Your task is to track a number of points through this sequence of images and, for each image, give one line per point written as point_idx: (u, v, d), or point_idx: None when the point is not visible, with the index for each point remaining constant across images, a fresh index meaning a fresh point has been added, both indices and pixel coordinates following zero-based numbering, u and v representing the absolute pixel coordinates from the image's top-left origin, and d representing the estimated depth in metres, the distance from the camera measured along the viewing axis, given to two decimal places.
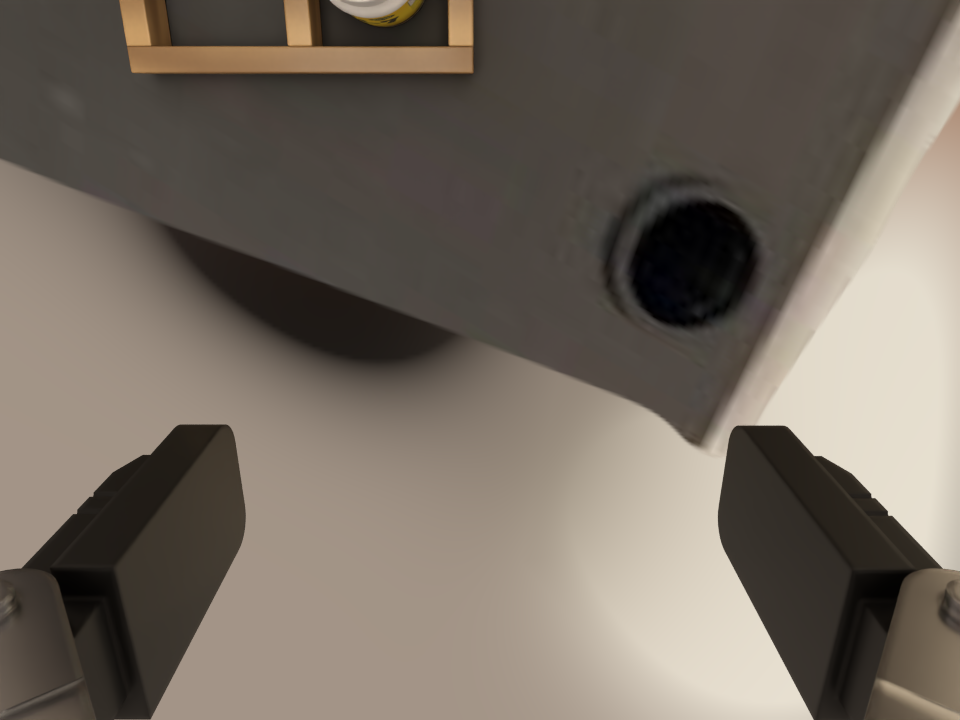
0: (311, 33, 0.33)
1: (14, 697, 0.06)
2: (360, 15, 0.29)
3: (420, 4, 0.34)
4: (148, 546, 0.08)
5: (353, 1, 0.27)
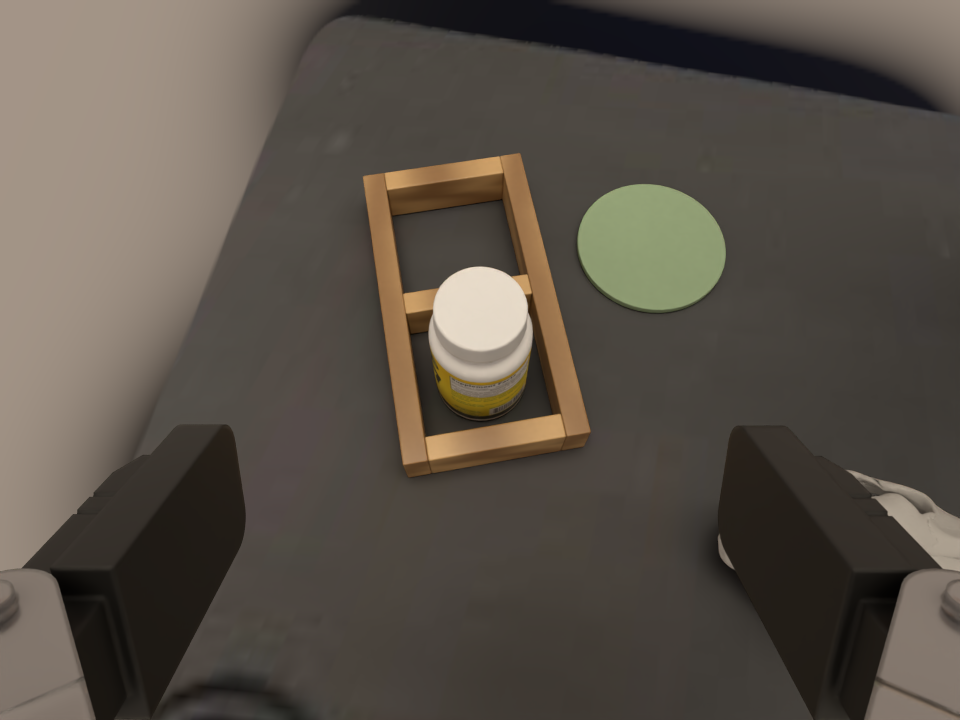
0: (416, 312, 0.35)
1: (14, 697, 0.06)
2: (429, 332, 0.30)
3: (460, 410, 0.34)
4: (148, 546, 0.08)
5: (433, 310, 0.28)
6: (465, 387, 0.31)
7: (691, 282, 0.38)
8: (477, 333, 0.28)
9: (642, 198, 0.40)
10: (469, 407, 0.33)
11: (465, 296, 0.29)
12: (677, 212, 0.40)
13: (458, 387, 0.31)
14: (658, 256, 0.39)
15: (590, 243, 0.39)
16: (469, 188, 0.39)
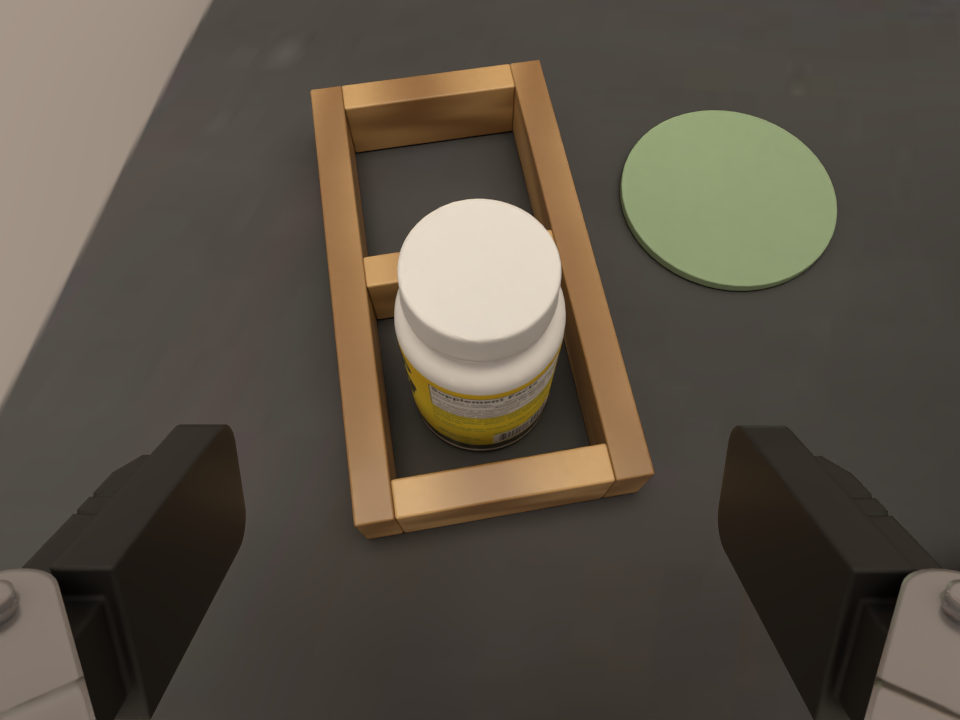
0: (383, 286, 0.23)
1: (14, 697, 0.06)
2: (395, 311, 0.18)
3: (448, 435, 0.22)
4: (148, 546, 0.08)
5: (398, 270, 0.16)
6: (455, 402, 0.19)
7: (789, 246, 0.26)
8: (473, 310, 0.16)
9: (712, 129, 0.28)
10: (461, 432, 0.21)
11: (453, 248, 0.17)
12: (763, 149, 0.28)
13: (443, 402, 0.19)
14: (739, 210, 0.27)
15: (639, 191, 0.27)
16: (465, 110, 0.27)
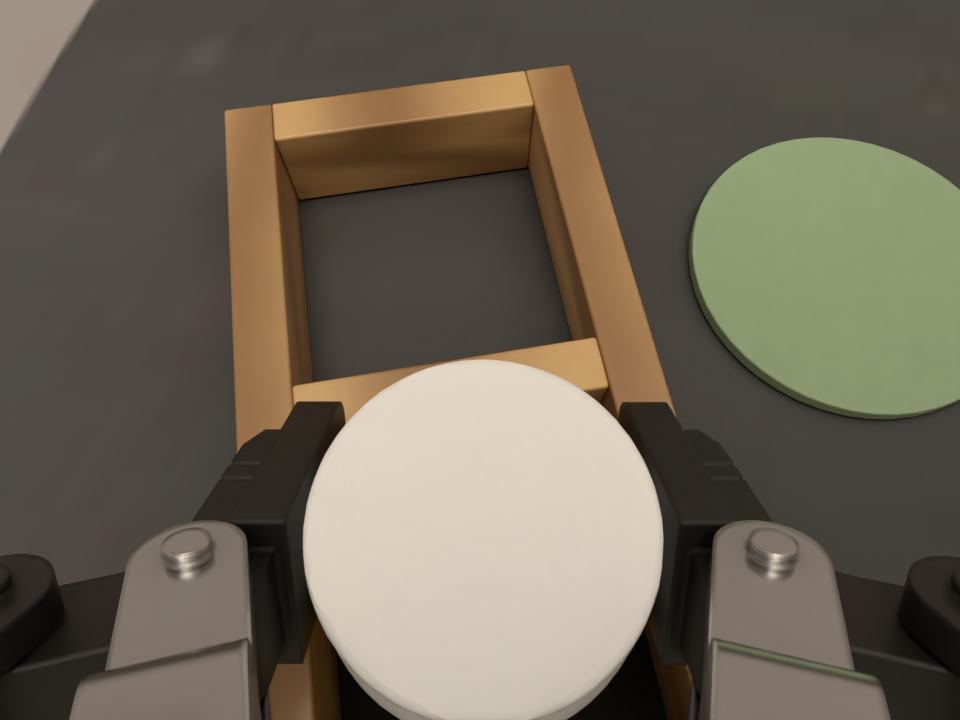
0: None
1: (194, 640, 0.06)
2: None
3: None
4: (302, 506, 0.09)
5: (305, 532, 0.07)
6: None
7: (953, 349, 0.17)
8: (470, 642, 0.07)
9: (821, 166, 0.19)
10: None
11: (426, 479, 0.08)
12: (899, 196, 0.19)
13: None
14: (871, 291, 0.18)
15: (720, 261, 0.18)
16: (459, 141, 0.18)
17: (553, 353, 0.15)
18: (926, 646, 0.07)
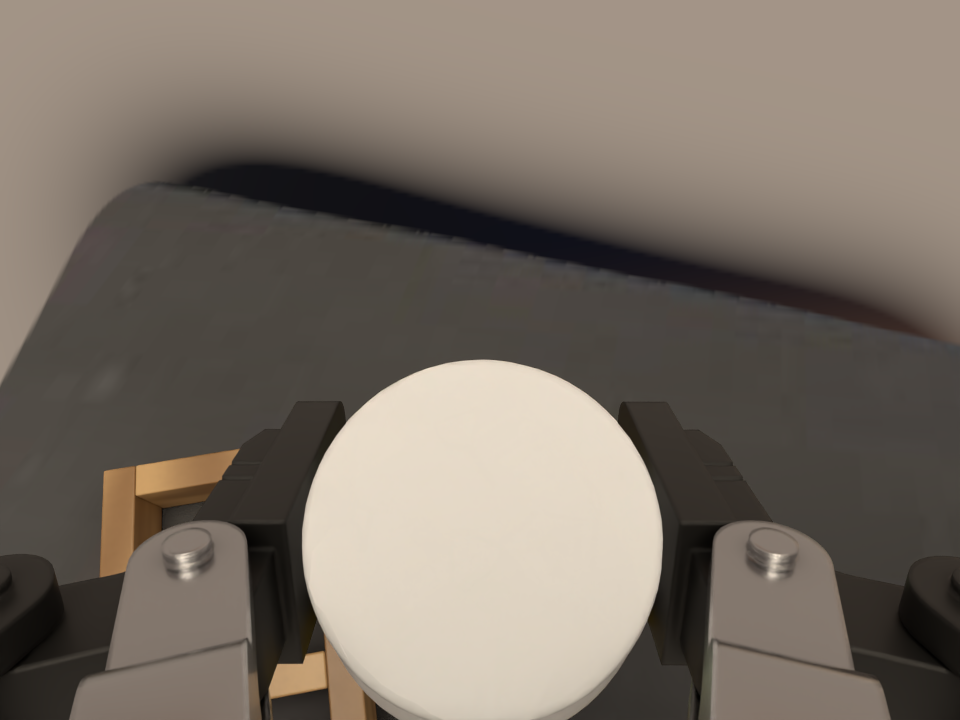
0: None
1: (194, 640, 0.06)
2: None
3: None
4: (302, 506, 0.09)
5: (304, 533, 0.07)
6: None
7: None
8: (470, 643, 0.07)
9: None
10: None
11: (425, 479, 0.08)
12: None
13: None
14: None
15: None
16: None
17: None
18: (926, 646, 0.07)
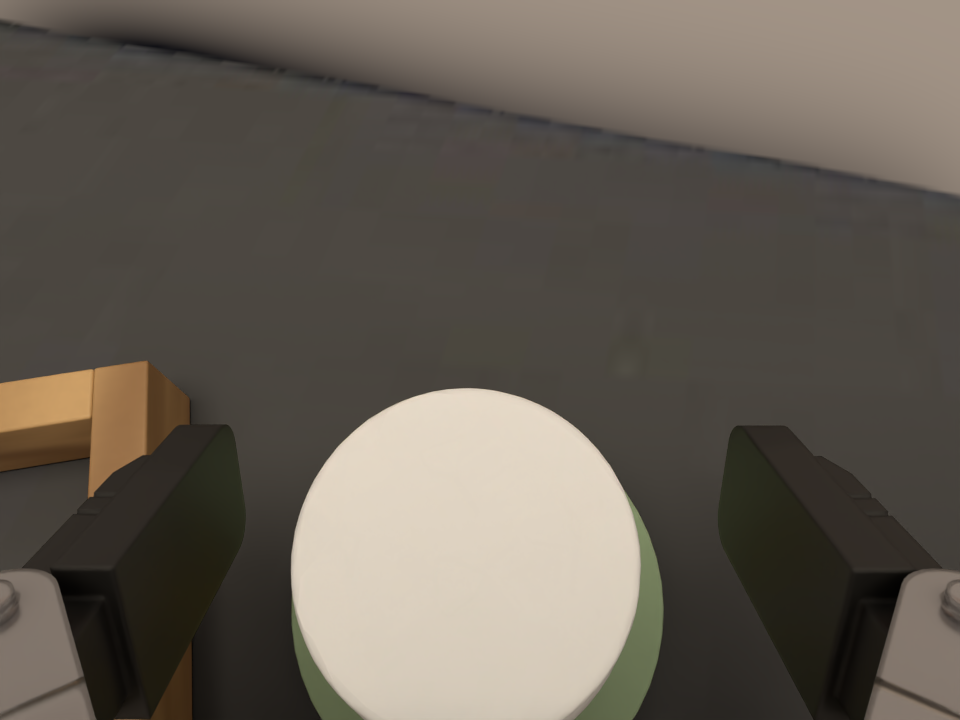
0: None
1: (14, 697, 0.06)
2: None
3: None
4: (148, 546, 0.08)
5: (293, 559, 0.08)
6: None
7: None
8: (452, 667, 0.07)
9: None
10: None
11: (411, 507, 0.08)
12: None
13: None
14: None
15: None
16: (24, 445, 0.16)
17: None
18: None
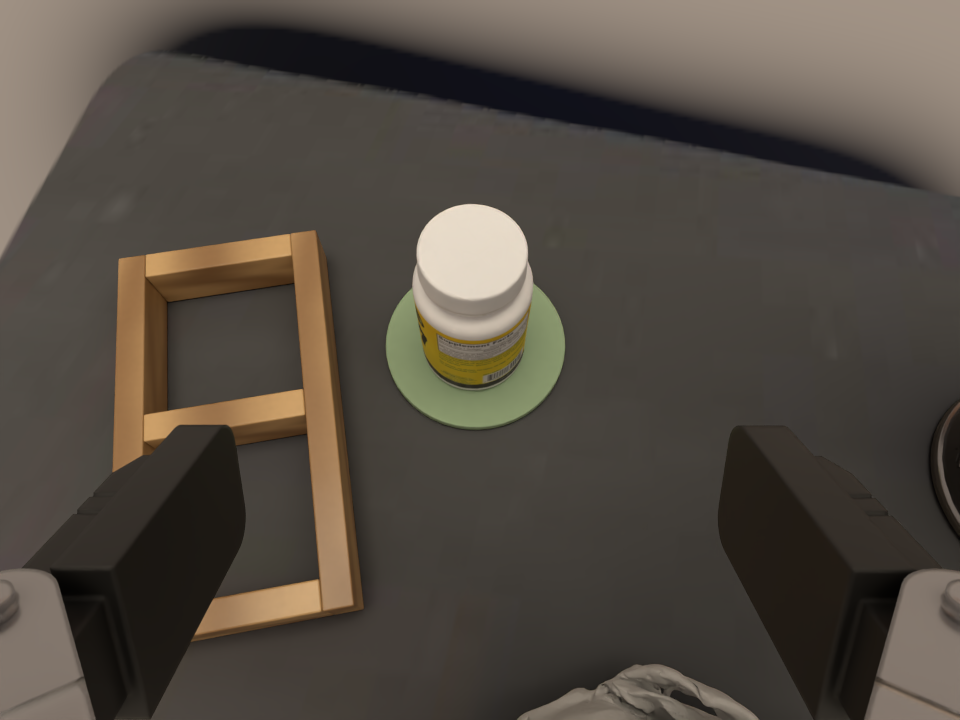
0: (158, 439, 0.28)
1: (14, 697, 0.06)
2: (413, 282, 0.26)
3: (449, 377, 0.30)
4: (148, 546, 0.08)
5: (417, 253, 0.24)
6: (455, 347, 0.26)
7: (518, 391, 0.31)
8: (468, 279, 0.24)
9: None
10: (459, 373, 0.29)
11: (454, 238, 0.24)
12: None
13: (446, 347, 0.27)
14: None
15: (400, 340, 0.32)
16: (254, 272, 0.32)
17: (279, 397, 0.29)
18: None
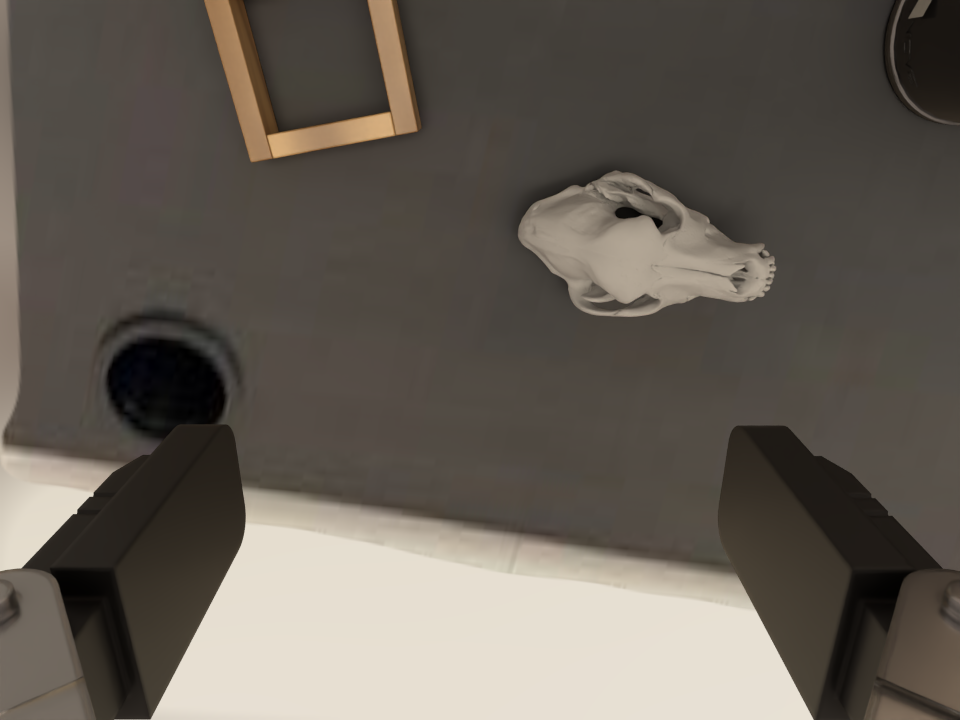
0: None
1: (14, 697, 0.06)
2: None
3: None
4: (148, 546, 0.08)
5: None
6: None
7: None
8: None
9: None
10: None
11: None
12: None
13: None
14: None
15: None
16: None
17: None
18: None
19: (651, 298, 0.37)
